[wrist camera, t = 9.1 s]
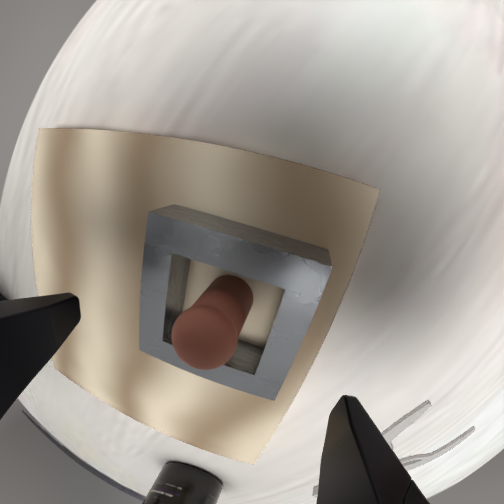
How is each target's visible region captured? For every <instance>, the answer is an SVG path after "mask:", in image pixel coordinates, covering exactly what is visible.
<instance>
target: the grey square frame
mask: <svg viewBox="0 0 504 504" xmlns="http://www.w3.org/2000/svg"><path fill="white" fill-rule="evenodd" d="M191 259H193V260H196V261H199V262H202V263H205V264H208V265H211V266H214V267H217V268H220V269H223V270H226V271H229V272H232V273H236V274H239V275H242V276H245V277H248V278H251V279H254V280H258V281H261V282H264V283H267V284H270V285H273V286H277V287H280V288H283V292H282V295H281V298H280V301H279V304H278V306H277V309H276V312H275V315H274V318H273V321H272V324H271V327H270V330H269V332H268V335H267V338H266V341H265V344H264V346H263V347H260V346H257V345H254V344H251V343H248V342H245V341H242V340H239V339H238V343H237V347H236V350H235V352H234V354H233V356H232V357H231V358H230V359H229V361H227V362H226V363H225V364H224V365H222V366H220V367H218V368H215V369H210V370H201V369H196V368H193V367H191V366H189V365H187V364H186V363H184V362H183V361H182V360H181V359H180V358H179V357H178V355H177V354H176V352H175V350H174V348H173V344H172V328H173V325H174V323H175V321H176V319H177V318H178V317H179V315H180V314H181V313H182V312H183V305H184V298H185V291H186V285H187V279H188V272H189V266H190V260H191ZM331 270H332V262H331V258H330V253H329V249H326V248H322V247H319V246H316V245H313V244H310V243H306V242H303V241H300V240H297V239H293V238H290V237H287V236H283V235H280V234H277V233H273V232H270V231H267V230H263V229H260V228H257V227H253V226H250V225H246V224H243V223H240V222H236V221H233V220H229V219H226V218H222V217H219V216H215V215H212V214H208V213H204V212H201V211H197V210H194V209H190V208H186V207H183V206H179V205H175V204H173V205H169V206H166V207H162V208H159V209H155V210H152V211H148V218H147V226H146V234H145V242H144V252H143V263H142V275H141V290H140V312H139V350H140V351H142V352H144V353H146V354H149V355H151V356H153V357H155V358H157V359H159V360H162V361H164V362H166V363H168V364H171V365H173V366H175V367H178V368H180V369H182V370H185V371H187V372H190V373H192V374H195V375H197V376H200V377H203V378H205V379H208V380H211V381H213V382H216V383H219V384H222V385H225V386H227V387H230V388H233V389H236V390H239V391H243V392H246V393H249V394H252V395H255V396H259V397H262V398H266V399H269V400H273V401H275V399H276V397H277V395H278V393H279V391H280V389H281V387H282V385H283V382H284V380H285V378H286V376H287V374H288V372H289V370H290V368H291V366H292V364H293V361H294V359H295V357H296V355H297V353H298V351H299V348H300V346H301V344H302V342H303V339H304V337H305V335H306V332H307V330H308V328H309V325H310V323H311V321H312V318H313V316H314V313H315V311H316V309H317V306H318V304H319V301H320V299H321V296H322V293H323V291H324V288H325V286H326V283H327V281H328V278H329V275H330V273H331Z"/></svg>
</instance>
